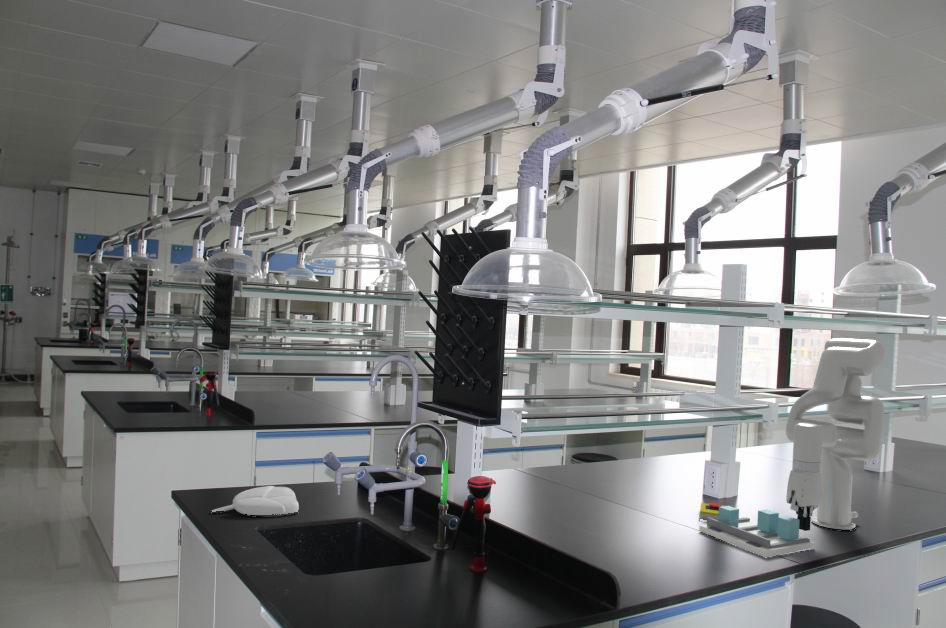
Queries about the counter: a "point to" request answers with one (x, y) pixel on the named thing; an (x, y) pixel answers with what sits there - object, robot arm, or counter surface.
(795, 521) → the teal rectangular block
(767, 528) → the light teal block
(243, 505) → the white computer mouse
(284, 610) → the counter surface
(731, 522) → the teal rectangular block
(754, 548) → the white ridged tray
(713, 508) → the emergency button
